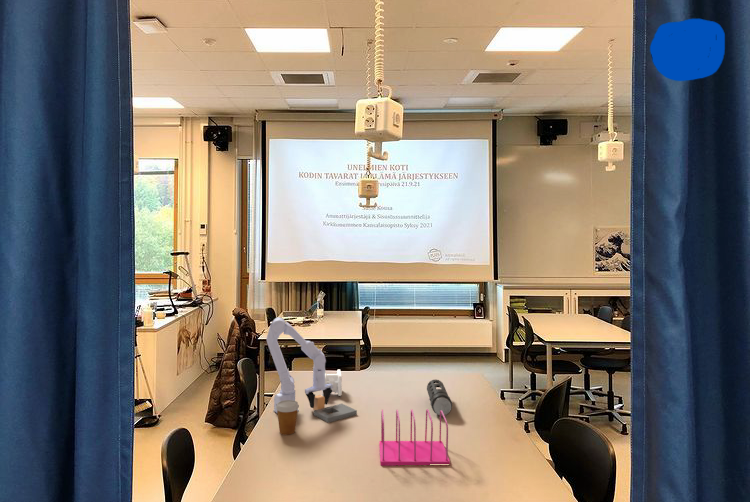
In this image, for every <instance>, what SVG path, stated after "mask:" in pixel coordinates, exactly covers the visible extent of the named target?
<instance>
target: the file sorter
mask: <svg viewBox="0 0 750 502" xmlns="http://www.w3.org/2000/svg"><path fill="white" fill-rule="evenodd" d="M380 413H381V420H380V423H381V426H380V427H381V428H380V429H381V437H380V438H381V440H379V442H378V443H379V444H378V446H379V460H380V461H379V463H380V466H382V467H383V466H389V467H390V466H392V467H394V466H395V467H396V465H398V466H400V465H430V464H450V465H451V461H450V458H449V455H448V454H449V448H448V447H449V424H448V421H447V418H446V415H444V414H443V411H442V410H441V411H440V415H439V438H438V439H439V440H433V434H434V424H433V423H434V422H433V420H432V416H431V412H430V411H429V408H427V409H425V431H424V440H416V437H417V436H416V435H417V433H416V432H417V431H416V430H417V429H416V418H415V414H414V410H413V409H410V433H409V434H410V440H401V419H400V413H399V410H398V409H396V411H395V413H396V414H395V440H385V417H384V409H381V411H380ZM441 413H442V415H443V416H441ZM428 417H429V420H430V427H431V428H430V440H427V435H428ZM442 418H443V419H444V422H445V428H446V437H445V441H446V442H445V443H446V444H444V442H443V440H442ZM413 432H414V433H413ZM398 466H397V467H398Z"/></svg>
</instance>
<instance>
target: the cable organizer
mask: <svg viewBox="0 0 750 502" xmlns="http://www.w3.org/2000/svg"><path fill="white" fill-rule="evenodd" d="M326 372H327V371H326V370H325V384H333V388H332V393H334V394H337V396H338V397H339V396H340V397H342V394H343V391H342V389H343V388H342V387H343V383H342V382H343V380H342V379H343V378H342V377H343V376H342V371H341V369H337V370H336V373H326ZM321 396H323V390H321Z"/></svg>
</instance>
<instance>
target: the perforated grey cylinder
mask: <svg viewBox="0 0 750 502" xmlns="http://www.w3.org/2000/svg"><path fill="white" fill-rule="evenodd" d="M426 391H427V394H428V397H429V401H430V406H431V410H432V411H433V413H435V414H436V415H438V416H440V411H441V410H442V411H443V414H444V416H446V415H448V414H449V413H450V412H451V411H452V408H453V403H452V402H453V401H452V399H451V397H450V396H449V394H448V392H447V389H446V387H445V385H444V383H443V382H442V381H441V380H439V379H432V380H430V381H429V382H427V385H426ZM441 417H443V415H442V413H441Z"/></svg>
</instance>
